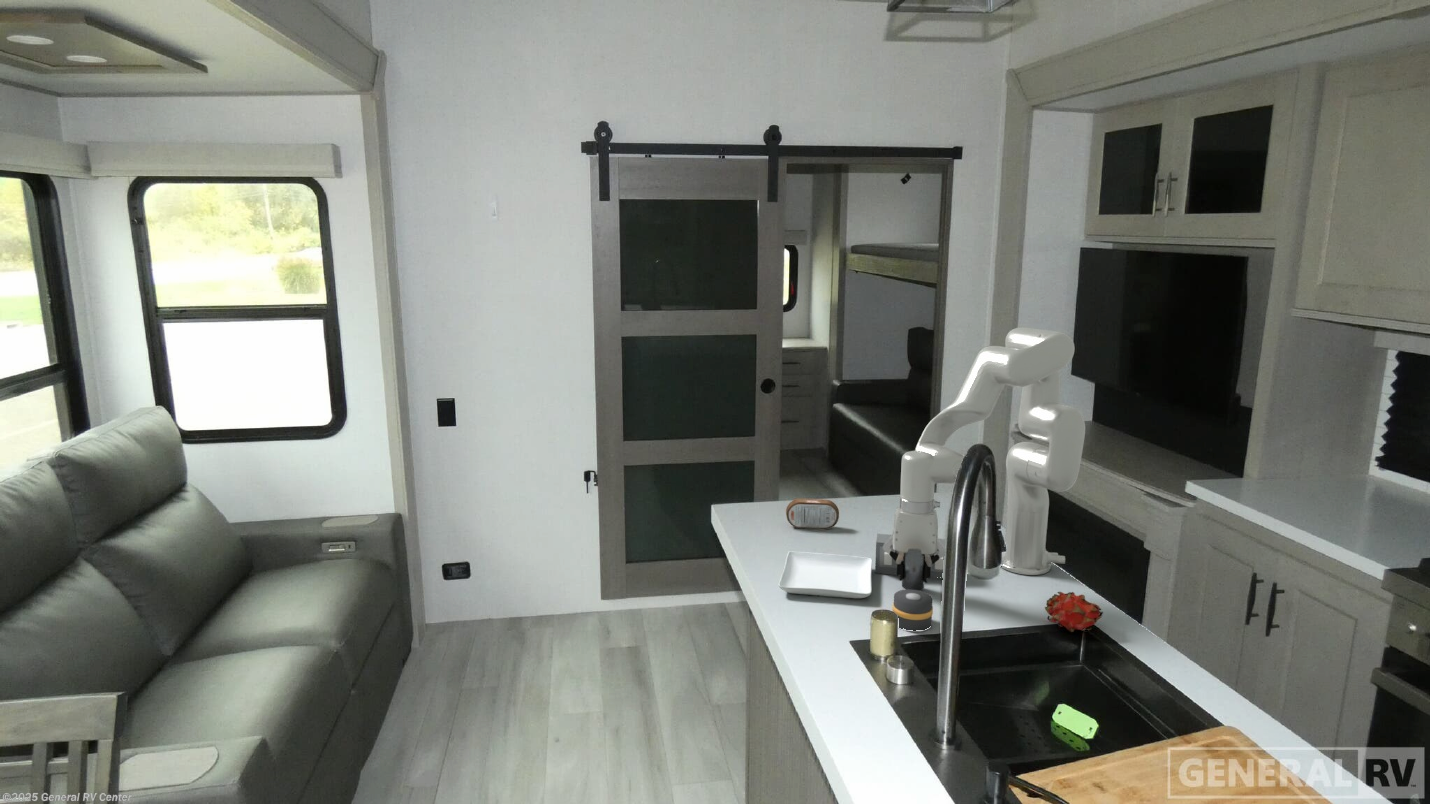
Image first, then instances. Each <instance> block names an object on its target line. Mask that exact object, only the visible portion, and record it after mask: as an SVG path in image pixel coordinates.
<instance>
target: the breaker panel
mask: <svg viewBox="0 0 1430 804" xmlns="http://www.w3.org/2000/svg"><path fill="white" fill-rule="evenodd" d="M892 535H893V534H887V533H877V534H876V539H875V541H876V542H875V565H874V566H875V567H874V569H875V571H874V573H875V574H885V575H893V574H894V576H895V575H896V576H898V575H897V563H896V561H895V560H894V559H893V558H892V557H891V556H890V555H889V554H888V553H887V552H886V551H884V550H883V544H884V543H885V542H886V541H887V540H888V539H889V538H890V537H891V536H892ZM938 539H939V541H940V542H941V543H942V545H943V546H944V547H945V539H946V538H938ZM890 547H891V548H892V549H893V544H892V545H891V546H890ZM893 550H894V549H893ZM938 551H939V550H938V548H937V552H938ZM896 552H897V551H896ZM937 552H936V553H937ZM897 553H898V552H897ZM932 555H933V554H932ZM932 555H931V556H932ZM943 560H944V556H943V557H942V558H940V559H939V560H938V561H936V562H935V563H934V564H933V565H932V566H931V573H930V578H929V579H937V577H938V579H939V580H943V579H942V573H943ZM925 561H926V559H925ZM940 577H941V579H940Z"/></svg>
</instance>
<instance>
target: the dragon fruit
mask: <svg viewBox="0 0 1430 804" xmlns="http://www.w3.org/2000/svg"><path fill="white" fill-rule="evenodd" d="M1045 604H1046V606H1044V609H1045V611H1046V613H1047V614H1048V616H1047V620H1048V621H1049V622H1050V623H1056V622H1057V625H1061V627H1062V628H1063V626H1064V628H1066V630H1067V631H1069V632H1070V633H1073V632H1074V631H1075V630H1079V631H1083V632H1084V633H1085V632H1086V631H1084V630H1083V629H1084V628H1086V630H1088V631H1091V630H1092V629H1093V628H1092V627H1091V626H1093V625H1095V624H1096V622H1098V620H1100V619H1101V618H1102V616H1103V614H1104V611H1101V610H1102V608H1101V607H1100V606H1099V605H1098V604H1095V602H1094V603H1093V602H1089V601H1088V600H1086V596H1085V595H1084V594H1079V595H1076V593H1075V592H1074V591H1072V592H1071V591H1070V592H1069V591H1068V593H1064V592H1062V591H1057V593H1054V595H1052V597H1050V598H1049V599H1047V600H1046V603H1045ZM1050 617H1051V618H1050Z"/></svg>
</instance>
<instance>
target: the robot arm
mask: <svg viewBox="0 0 1430 804" xmlns="http://www.w3.org/2000/svg"><path fill="white" fill-rule="evenodd" d="M1004 343H1005V344H1004V345H1005V346H1000V345H990V346H986V347H983V348H982V349H981V350H980V351H979V352H978V353H977V355H976V357H975V358H974V361H973V363H972V364H971V367H970V368H969V371H968V373H967V375H966V377H965V379H964V381H963V384H962V385H961V388H960V390H959V392H958V394H957V396H956V397H955V399H954V401H953V402H952V403H950V404H949V405H947V406H946V407H945V408H944V409H943V410H941V411H940V412H939V413H938V414H936V415H935V416H934V417H933V418H932V419H931V420H930V421H928V424H927V425H926V426H925V428H924V430H923V431H922V433H921V434H920V435H921V436H920V437H919V439H918V441H917V444H916V446H915V449H914V450H909V451H906V452H905V453H903V455H902V457H901V466H900V467H901V470H900V471H901V472H900V494H899V506H898V507H896V509H895V513H894V518H893V526H892V528H893V529H892V534H891V535H892V536H891V537H890V538H889V539H888V540H887V541H886V542H885V543H884V544H883V550H884V551H886V552H887V553H888V554H889V555H890V556H891V557H892V558H893V559H894V560H895V561H896V563H897V575H896V576H899V581H901V582H902V580H903V556H904V553H907V552H908V549H913V550H921V553H922V554H924V555H925V559H926V561H925V567H924V584H926V583H927V584H928V579H931V578H930V573H931V566H932V565H933V564H934V563H935V562H936V561H938V560H939V559H940V558H942V557H943V556H945V547H944V546H943V545H942V543H941V542H940V541H939V539H940V538H939V529H938V528H939V523H938V513H937V510H936V509H937V508H941V501H937V500H936V499H935V485H936V484H953V485H954V484H955V483H954V482H955V479H956V475H957V473H958V469H959V468H960V466H961V463H962V461H963V458H964V456H966V455H965V454H963V453H962V452H960V451H957V450H954V449H953V448H949V447H946V446H945V445H946V443H947V441H948V439H950V437H951V436H952V435H953V434H954V433H955V432H956V431H957V430H958V431H959V429H961V428H963V427H964V426H967V425H971V424H974V423H978V422H981V421H984V420H986V419H989V417H990V416H991V415H992V412H993V410H994V408H995V406H996V405H997V402H998V400H999V397H1001V396H1000V395H1001V394H1002V391H1003V389H1005V386H1009V387H1012V388H1022V389H1021V390H1022V391H1021V397H1020V402H1019V403H1020V404H1019V405H1020V406H1019V411H1018V419H1017V420H1018V421H1017V422H1018V423H1017V424H1018V425H1017V426H1018V429H1019V431H1020V433H1022V435H1025V436H1028V437H1030V438H1032V439H1035V440H1039V441H1043V442H1045V443H1049V445H1048V446H1046V445H1042V444H1040V443H1036V442H1031V441H1021V442H1018V443H1015V444H1014V445H1012V446H1011V448H1009V450H1008V452H1007V455H1006V459H1005V468H1006V475H1007V476H1006V477H1007V485H1008V486H1007V487H1008V489H1007V490H1008V492H1007V493H1008V494H1007V504H1006V505H1007V507H1006V508H1007V509H1006V521H1005V536H1004V537H1005V538H1004V543H1005V542H1006V545H1007V551H1006V553H1005V556H1004V563H1003V565H1002V567H1001V568H1002V569H1003V570H1006V571H1008V572H1011V573H1014V574H1020V575H1024V576H1025V575H1028V576H1039V575H1044V574H1046V573H1048V572H1049V571H1050V570H1051V567H1052V566H1051V565H1052V563H1055V564H1063V565H1064V564H1066V556H1065V555H1059V553H1058V552H1049V551H1048V550H1047V549H1046V543H1047V533H1048V532H1047V530H1048V520H1049V519H1048V518H1049V507H1050V497H1049V492H1048V490H1050V491H1053V492H1058V493H1060V492H1062V493H1063V492H1066V491H1068V490H1070V489H1071V488H1072V487H1073V486H1074V485H1075V483H1076V481H1077V480H1078V476H1079V472H1080V470H1081V464H1082V463H1081V462H1082V455H1083V450H1084V443H1085V435H1086V423H1085V418H1084V417H1083V415H1082V413H1081V411H1079V410H1078V409H1077V408H1075V407H1073V406H1070V405H1066V404H1062V403H1061V402H1060V396H1061V385H1062V384H1061V381H1062V379H1061V375H1060V370H1062V369H1064V368H1065V367H1066V366H1068V364H1070V363H1071V361H1072V359H1073V357H1074V354H1075V343H1074V341H1073V339H1072V338H1071V336H1069V335H1068V334H1066V333H1064V332H1061V331H1058V330H1057V331H1056V330H1050V329H1049V330H1048V329H1041V328H1034V327H1016V328H1013V329H1011V330H1010V331H1009V332H1008V333H1007V335H1006V336H1005V341H1004ZM892 544H893V549H894V550H893V549H892V548H891V547H890V546H891V545H892ZM937 548H938V550H939V551H938V552H937ZM896 551H897V552H898V553H897V552H896ZM936 552H937V553H936ZM932 554H933V555H932ZM931 555H932V556H931Z"/></svg>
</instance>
